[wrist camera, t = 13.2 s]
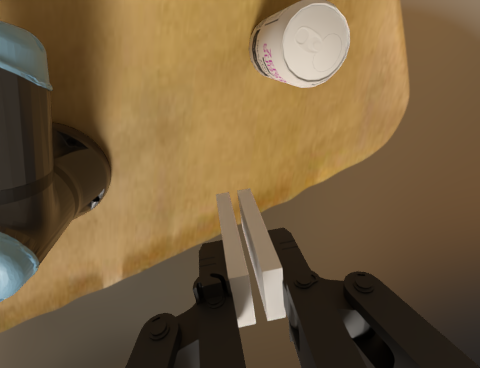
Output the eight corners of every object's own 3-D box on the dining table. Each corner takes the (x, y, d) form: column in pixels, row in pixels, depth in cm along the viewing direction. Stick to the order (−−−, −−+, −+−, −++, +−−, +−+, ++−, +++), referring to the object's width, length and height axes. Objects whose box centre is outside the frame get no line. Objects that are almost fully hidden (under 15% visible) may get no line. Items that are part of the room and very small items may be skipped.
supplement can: (312, 35, 40) (372, 25, 26) (283, 87, 42) (324, 103, 29) (266, 3, 37) (306, -27, 24) (238, 61, 40) (260, 64, 26)
